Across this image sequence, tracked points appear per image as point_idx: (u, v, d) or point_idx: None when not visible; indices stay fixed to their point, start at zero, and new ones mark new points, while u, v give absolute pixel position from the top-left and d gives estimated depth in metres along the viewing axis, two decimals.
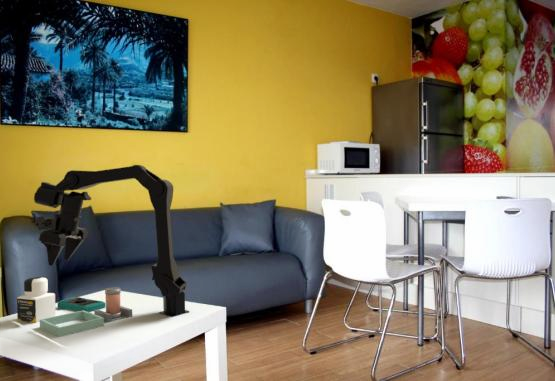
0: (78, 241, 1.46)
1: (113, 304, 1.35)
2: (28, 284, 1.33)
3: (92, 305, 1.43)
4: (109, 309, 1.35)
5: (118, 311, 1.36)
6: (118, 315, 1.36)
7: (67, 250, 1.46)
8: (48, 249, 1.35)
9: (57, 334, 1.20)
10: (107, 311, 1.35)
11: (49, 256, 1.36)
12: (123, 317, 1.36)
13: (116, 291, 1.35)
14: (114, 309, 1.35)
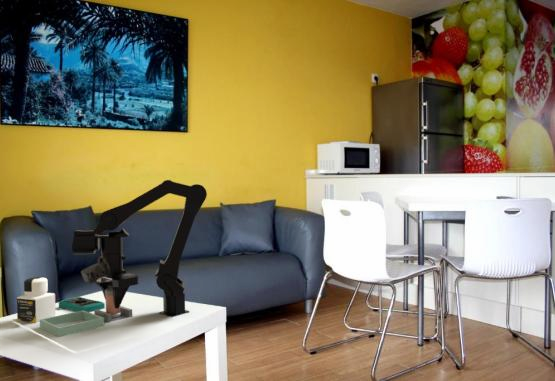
0: None
1: (113, 304, 1.35)
2: (28, 284, 1.33)
3: (90, 305, 1.43)
4: (109, 309, 1.35)
5: (118, 311, 1.36)
6: (118, 315, 1.36)
7: None
8: (116, 293, 1.33)
9: (57, 334, 1.20)
10: (107, 311, 1.35)
11: (117, 299, 1.34)
12: (123, 317, 1.36)
13: None
14: (114, 309, 1.35)
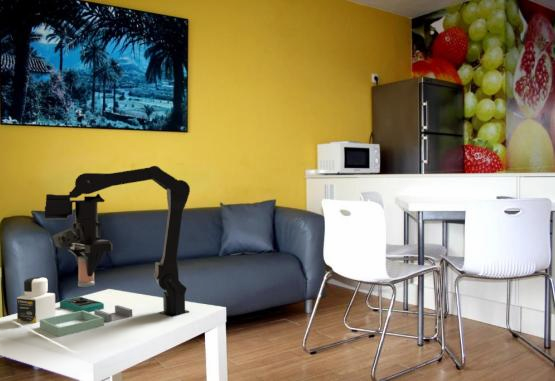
0: None
1: (86, 272, 1.29)
2: (28, 284, 1.33)
3: (89, 306, 1.43)
4: (81, 276, 1.29)
5: (91, 279, 1.30)
6: (91, 283, 1.30)
7: None
8: (89, 260, 1.28)
9: (57, 334, 1.20)
10: (80, 279, 1.30)
11: (90, 266, 1.29)
12: (123, 317, 1.36)
13: None
14: (87, 277, 1.29)
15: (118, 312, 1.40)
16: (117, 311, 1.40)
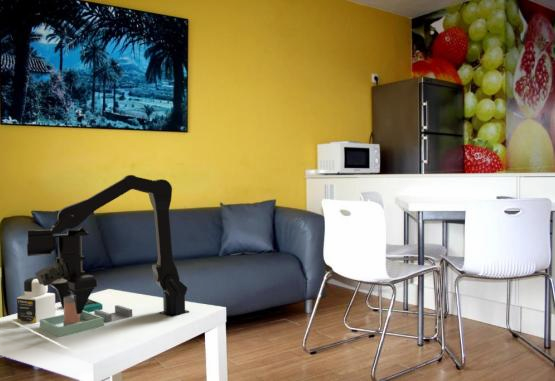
0: None
1: (72, 313, 1.26)
2: (28, 284, 1.33)
3: (87, 306, 1.42)
4: (67, 318, 1.26)
5: (77, 320, 1.27)
6: None
7: (63, 297, 1.31)
8: (78, 297, 1.23)
9: (57, 334, 1.20)
10: (65, 320, 1.26)
11: (78, 304, 1.24)
12: (123, 317, 1.36)
13: None
14: (72, 318, 1.26)
15: (118, 312, 1.40)
16: (117, 311, 1.40)
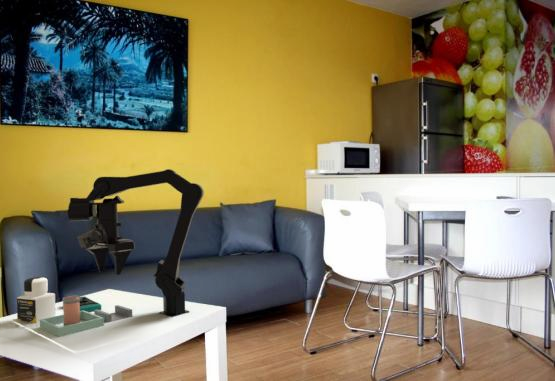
0: (106, 249, 1.44)
1: (72, 313, 1.26)
2: (28, 284, 1.33)
3: (85, 307, 1.42)
4: (66, 318, 1.26)
5: (77, 321, 1.27)
6: None
7: (100, 261, 1.41)
8: (117, 259, 1.34)
9: (57, 334, 1.20)
10: (65, 321, 1.26)
11: (118, 265, 1.35)
12: (123, 317, 1.36)
13: (75, 299, 1.26)
14: (72, 319, 1.26)
15: (118, 312, 1.40)
16: (117, 311, 1.40)
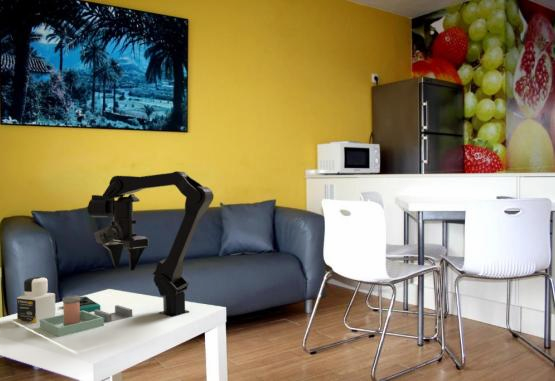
0: (121, 245, 1.49)
1: (72, 313, 1.26)
2: (28, 284, 1.33)
3: (84, 307, 1.42)
4: (66, 318, 1.26)
5: (77, 321, 1.27)
6: None
7: (115, 257, 1.47)
8: (131, 255, 1.39)
9: (57, 334, 1.20)
10: (65, 321, 1.26)
11: (132, 261, 1.40)
12: (123, 317, 1.36)
13: (75, 299, 1.26)
14: (72, 319, 1.26)
15: (118, 312, 1.40)
16: (117, 311, 1.40)
